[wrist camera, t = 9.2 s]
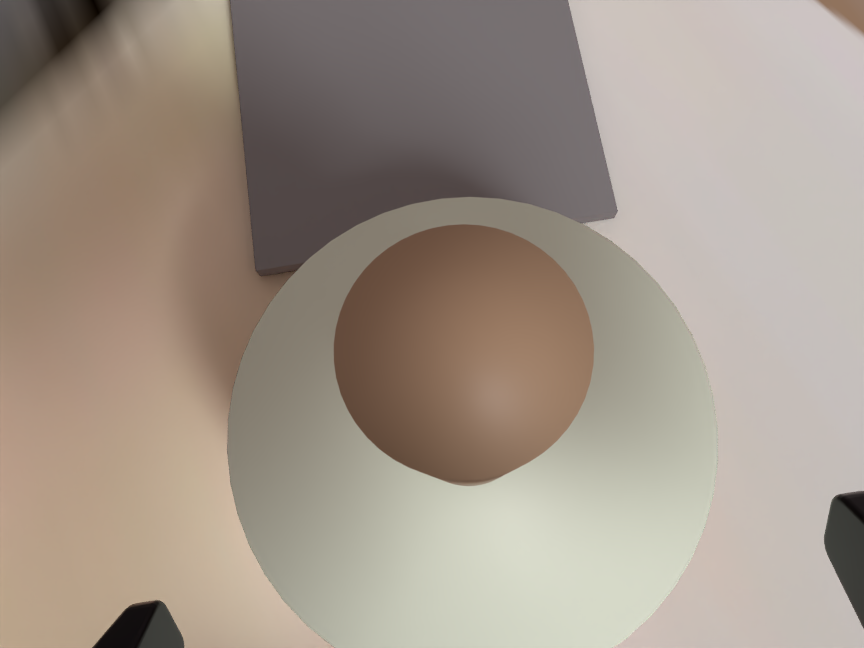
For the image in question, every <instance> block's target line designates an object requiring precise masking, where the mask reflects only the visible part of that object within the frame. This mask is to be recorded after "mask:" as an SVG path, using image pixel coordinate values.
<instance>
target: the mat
mask: <svg viewBox="0 0 864 648" xmlns="http://www.w3.org/2000/svg"><path fill="white" fill-rule="evenodd" d="M230 4H231V14H232V25H233V36H234V46H235V57H236V67H237V78H238V89H239V99H240V110H241V121H242V131H243V142H244V152H245V163H246V174H247V184H248V195H249V205H250V216H251V227H252V237H253V248H254V258H255V269H256V272H257V273H258V274H259V275H260V276H264V275H271V274H277V273H283V272H289V271H295V270H298V269H299V268H300V267H301V266H302V265H303V264H304V263H305V262H306V261H307V260H308V259H309V258H310V257H311V256H313V255H314V254H315V253H317V252H318V251H319V250H320V249H322V248H323V247H324V246H325V245H327V244H328V243H329V242H330V241H332V240H333V239H335V238H337V237H338V236H340V235H341V234H343V233H345V232H346V231H348V230H350V229H351V228H353V227H355V226H356V225H358V224H360V223H363V222H365V221H367V220H369V219H371V218H374V217H376V216H378V215H380V214H382V213H385V212H388V211H391V210H394V209H398V208H401V207H404V206H407V205H410V204H415V203H420V202H425V201H431V200H436V199H443V198H459V197H482V198H498V199H505V200H510V201H516V202H521V203H527V204H531V205H534V206H537V207H540V208H544V209H547V210H550V211H553V212H557V213H559V214H561V215H563V216H566V217H568V218H570V219H572V220H575V221H577V222H579V223H586V222H592V221H598V220H604V219H610V218H614V217H615V215H616V213H617V211H618V210H617V206H616V202H615V198H614V193H613V189H612V185H611V181H610V177H609V172H608V168H607V164H606V160H605V155H604V151H603V147H602V143H601V139H600V134H599V130H598V126H597V122H596V117H595V113H594V109H593V105H592V101H591V96H590V92H589V88H588V84H587V79H586V75H585V71H584V67H583V63H582V58H581V54H580V50H579V46H578V41H577V37H576V33H575V29H574V24H573V20H572V16H571V12H570V8H569V3H568V0H230Z"/></svg>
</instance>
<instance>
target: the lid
mask: <svg viewBox="0 0 864 648" xmlns="http://www.w3.org/2000/svg"><path fill="white" fill-rule="evenodd" d="M227 453H228V464H229V474H230V483H231V487H232V492H233V496H234V500H235V505H236V509H237V513H238V516H239V519H240V522H241V524H242V527H243V530H244V532H245V535H246V538H247V541H248V543H249V546H250V548H251V549H252V551H253V553H254V555H255V557H256V559H257V561H258V563H259V564H260V566H261V568H262V570H263V572H264V574H265V575H266V577H267V578H268V580H269V581H270V582H271V584H272V585H273V586H274V588H275V589H276V591H277V592H278V593H279V595H280V596H281V598H282V599H283V600H284V602H285V603H286V604H287V605H288V606H289V607H290V608H291V609H292V610H293V611H294V612H295V613H296V614H297V616H298V617H299V618H300V619H301V620H302V621H303V622H304V623H305V624H306V625H307V626H308V627H309V628H310V629H312V630H313V631H314V632H315V633H317V634H318V635H319V636H320V637H322V638H323V639H324V640H325V641H327V642H328V643H329V644H330V645H332V646H333V647H334V648H614V647H615V646H617V645H618V644H619V643H621V642H622V641H624V640H625V639H627V638H628V637H629V636H630V635H631V634H632V633H633V632H634V631H635V630H636V629H637V628H639V627H640V626H641V625H642V624H643V623H644V622H645V621H646V620H647V619H648V618H649V617H650V616H651V615H652V614H653V613H654V612H655V611H656V610H657V608H658V607H659V606H660V605H661V603H662V602H663V601H664V600H665V598H666V597H667V596H668V595H669V593H670V592H671V591H672V590H673V588H674V587H675V585H676V584H677V582H678V580H679V579H680V577H681V575H682V574H683V572H684V570H685V569H686V567H687V565H688V564H689V562H690V560H691V559H692V556H693V554H694V552H695V549H696V547H697V544H698V542H699V540H700V537H701V535H702V533H703V530H704V528H705V525H706V521H707V517H708V513H709V510H710V506H711V502H712V499H713V495H714V487H715V479H716V472H717V464H718V428H717V420H716V413H715V406H714V399H713V394H712V390H711V386H710V383H709V379H708V376H707V372H706V368H705V365H704V362H703V360H702V357H701V355H700V353H699V350H698V348H697V346H696V343H695V341H694V339H693V336H692V334H691V332H690V331H689V329H688V327H687V325H686V324H685V322H684V320H683V319H682V317H681V315H680V313H679V312H678V310H677V308H676V307H675V305H674V304H673V303H672V301H671V300H670V299H669V297H668V296H667V295H666V294H665V292H664V291H663V290H662V288H661V287H660V286H659V284H658V283H657V282H656V281H655V280H654V279H653V278H652V277H651V276H650V275H649V274H648V273H647V272H646V271H645V270H644V269H643V268H642V267H641V266H640V265H639V264H638V263H637V262H636V261H635V260H634V259H633V258H632V257H631V256H629V255H628V254H627V253H625V252H624V251H623V250H622V249H620V248H619V247H618V246H617V245H615V244H614V243H613V242H612V241H610V240H608V239H607V238H605V237H604V236H602V235H600V234H599V233H597V232H595V231H594V230H592V229H590V228H589V227H587V226H585V225H583V224H581V223H579V222H577V221H575V220H572V219H570V218H568V217H566V216H563V215H561V214H559V213H557V212H553V211H550V210H547V209H544V208H540V207H537V206H534V205H531V204H527V203H521V202H516V201H510V200H505V199H498V198H482V197H459V198H443V199H436V200H431V201H425V202H420V203H415V204H410V205H407V206H404V207H401V208H398V209H394V210H391V211H388V212H385V213H382V214H380V215H378V216H376V217H374V218H371V219H369V220H367V221H365V222H363V223H360V224H358V225H356V226H355V227H353V228H351V229H350V230H348V231H346V232H345V233H343V234H341V235H340V236H338V237H337V238H335V239H333V240H332V241H330V242H329V243H328V244H327V245H325V246H324V247H323V248H322V249H320V250H319V251H318V252H317V253H315V254H314V255H313V256H311V257H310V258H309V259H308V260H307V261H306V262H305V263H304V264H303V265H302V266H301V267H300V268H299V269H298V270H297V271H296V272H295V273H294V274H293V275H292V276H291V277H290V278H289V279H288V280H287V281H286V283H285V284H284V285H283V287H282V288H281V289H280V291H279V292H278V293H277V294H276V296H275V297H274V298H273V300H272V301H271V302H270V304H269V305H268V307H267V309H266V310H265V312H264V314H263V315H262V317H261V319H260V320H259V322H258V324H257V326H256V327H255V329H254V331H253V333H252V336H251V338H250V340H249V342H248V345H247V347H246V349H245V352H244V354H243V356H242V359H241V362H240V366H239V369H238V373H237V376H236V380H235V383H234V386H233V392H232V398H231V404H230V411H229V417H228V442H227Z"/></svg>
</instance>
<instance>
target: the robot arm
mask: <svg viewBox="0 0 864 648" xmlns="http://www.w3.org/2000/svg"><path fill="white" fill-rule="evenodd" d="M824 544H825V549H826V552H827V555H828V557H829V559H830V561H831V563H832V565H833V567H834V569H835V571H836V573H837V575H838V577H839V580H840V582H841V584H842V586H843V588H844V590H845V592H846V594H847V596H848V598H849V600H850V602H851V604H852V606H853V608H854V610H855V612H856V614H857V616H858V618H859V620H860V622H861V624H862V626H863V628H864V491H857V492H851V493H844V494H839V495H836V496H835V497H834V498H833V499H832V502H831V506H830V511H829V515H828V520H827V525H826V530H825V535H824ZM92 648H184V641H183V637H182V635H181V633H180V631H179V629H178V627H177V625H176V624H175V622H174V620H173V618H172V616H171V614H170V612H169V611H168V609H167V607H166V605H165V604H164V603H163V602H161V601H159V600H155V601H148V602H142V603H136V604H133V605H131V606H129V607H128V608H127V609H125V610H124V611H123V613H122V614H121V615H120V616H119V617H118V618H117V620H116V621H115V622H114V623H113V624H112V625H111V627H110V628H109V629H108V630H107V631H106V632H105V633H104V635H103V636H102V637H101V638H100V639H99V640H98V642H97V643H96V644H95V645H94V646H93V647H92Z"/></svg>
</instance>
